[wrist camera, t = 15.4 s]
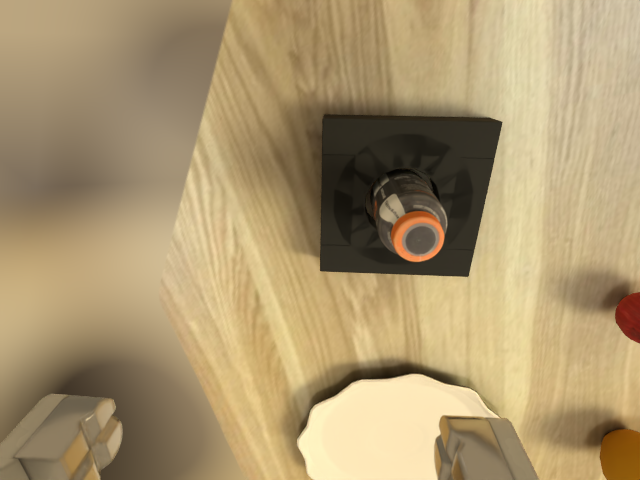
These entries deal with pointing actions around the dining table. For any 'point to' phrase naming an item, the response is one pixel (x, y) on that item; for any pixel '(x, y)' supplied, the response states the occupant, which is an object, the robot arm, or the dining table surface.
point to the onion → (629, 316)
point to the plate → (383, 428)
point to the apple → (621, 455)
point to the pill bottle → (408, 215)
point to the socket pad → (392, 153)
